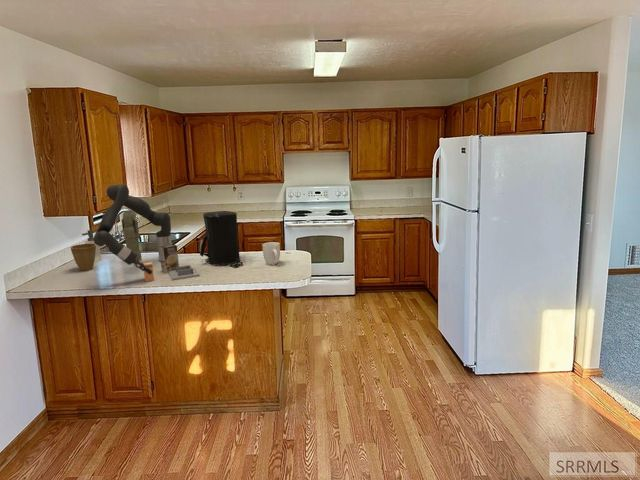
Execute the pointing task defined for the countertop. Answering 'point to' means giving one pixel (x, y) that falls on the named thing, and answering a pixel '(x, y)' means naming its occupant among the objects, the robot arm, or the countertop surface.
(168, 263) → the coffee box
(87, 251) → the plant pot
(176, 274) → the end holder
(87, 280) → the countertop surface
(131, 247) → the thermos
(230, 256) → the coffee maker
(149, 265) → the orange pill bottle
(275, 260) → the mug
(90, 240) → the soap dispenser
